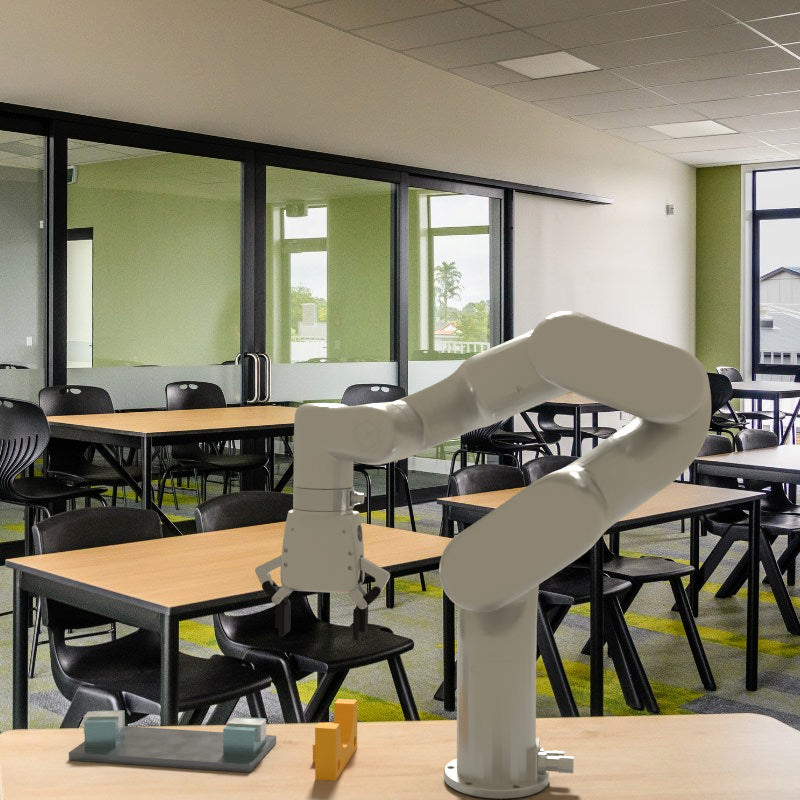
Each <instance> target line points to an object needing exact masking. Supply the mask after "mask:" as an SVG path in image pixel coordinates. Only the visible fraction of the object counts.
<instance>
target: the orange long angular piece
mask: <svg viewBox="0 0 800 800" xmlns="http://www.w3.org/2000/svg"><path fill="white" fill-rule="evenodd" d="M314 731H315V732H314V743H313V744H312V763H314V770H315V771H314V777H315V778H314V779H315V780H316V781H317V780H319V781H333V782H334V781H335V782H336V781H337V780H338V779H339V777H340V776H341V774H342V772H343V771H344V769H345V768H346V766H347V765H348V763H349V761H350V759H351V758H352V757H353V755H354V754H355V752H356V750H357V749H358V699H351V698H350V699H349V698H338V699H337V700H336V701H335V702H334V712H333V722H318V724H316V726H314Z"/></svg>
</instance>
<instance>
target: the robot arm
mask: <svg viewBox="0 0 800 800" xmlns="http://www.w3.org/2000/svg"><path fill="white" fill-rule="evenodd" d="M710 387H711V386H710V380H709V376H708V373H707V371H706V367H705V366H704V365H703V363H702V362H701V361H700V359H698V358H697V357H696V356H695V355H694V354H693V353H691V352H689V351H687V350H685V349H683V348H681V347H679V346H675V345H672V344H669V343H666V342H664V341H661V340H660V341H659V340H657V339H654V338H650V337H647V336H644V335H642V334H639V333H636V332H633V331H630V330H626V329H623V328H620V327H619V326H618V327H617V326H615V325H612V324H610V323H606V322H604V321H601V320H599V319H596V318H594V317H592V316H588V315H586V314H584V313H581V312H578V311H572V310H565V311H564V310H563V311H557V312H555V313H552V314H550V315H548V316H546V317H545V318H543V319H542V320H540V322H539V323H538V324H537V325H536V326H535V327H534V328H533V329H532V330H530V331H528V332H526V333H523V334H522V335H519V336H517V337H515V338H512V339H510V340H507V341H504V342H502V343H500V344H498V345H495V346H493V347H490V348H488V349H486V350H484V351H481V352H479V353H476V354H474V355H472V356H470V357H469V358H466V360H464V361H463V362H462V363H461V364H460V365H459V366H458V368H457V369H456V370H454V372H453V373H451V374H450V375H449V376H447V377H445V378H444V379H442V380H440V381H437V382H436V383H434V384H432V385H429V386H428V387H425V388H423V389H420V390H419V391H416V392H413V393H411V394H409V395H407V396H404V397H402V398H399V399H397V400H394V401H387V402H385V401H384V402H376V403H367V404H365V403H364V404H360V405H347V404H344V403H332V402H331V403H329V402H311V403H310V402H309V403H303V404H300V405H299V406H298V407H297V408H296V410H295V413H294V420H293V422H294V423H293V425H294V426H293V427H294V428H293V486H292V487H293V489H292V490H293V494H292V495H293V496H292V497H293V499H292V501H293V503H292V507H293V509H290V510H288V512H287V517H286V520H285V525H284V532H283V538H282V546H281V547H282V548H281V555H279V556H276V557H275V558H273V559H270V560H269V561H266V562H265V563H263V564H260V565H258V566H257V567H256V568H255V570H254V572H255V574H256V576H257V579H258V581H259V583H260V584H261V588H262V590H263V591H264V592H265V594H267V596H268V597H270V599H271V601H272V603H273V604H274V605H275V608H274V609H275V610H274V613H275V614H274V627H275V628H278V637H284V636H285V635H286V634H288V633H289V632H290V631H291V629H292V628H291V625H292V621H291V619H292V618H291V617H292V616H291V615H292V602H291V600H290V599H289V596H290V595H291V593H292V592H293V591H296V592H297V591H298V592H312V593H313V592H314V593H332V594H334V593H335V594H348V595H349V597H350V598H351V599H352V600H353V602H354V603H355V604H356V605H355V606H356V607H354V608H353V612H352V620H353V621H352V640H354V641H355V642H357V641H358V642H359V641H360V640H361V639H362V638H363V637H364V634H366V633H368V629H369V606H370V604H372V602H374V601H375V600H376V599H377V598H378V597H380V595H381V594H382V592H383V590H384V589H385V587H386V585H387V583H388V582H389V580H390V577H391V573H390V571H388V570H386V569H384V568H382V567H380V566H379V565H377V564H375V563H373V561H370V560H368V559H367V558H365V550H364V549H365V548H364V536H363V534H364V533H363V526H362V519H361V514H360V512H359V511H357V510H354V508H355V506H358V505H361V504H362V505H364V503H365V493H363V492H358V491H356V490H355V486H354V463H359V464H365V465H372V466H377V465H379V466H380V465H385V464H389V463H393V462H397V461H401V460H405V459H407V458H410V457H413V456H415V455H418V454H421V453H422V452H425V451H427V450H430V449H432V448H435V447H437V446H439V445H441V444H444V443H446V442H449V441H451V440H453V439H456V438H459V437H460V436H463V435H466V434H467V433H470V432H473V431H476V430H479V429H482V428H488V427H490V426H492V425H494V424H496V423H499V422H501V421H504V420H506V419H509V418H511V417H513V416H515V415H518V414H521V413H522V412H525V411H527V410H529V409H532V408H535V407H537V406H540V405H542V404H544V403H547V402H549V401H551V400H555V399H556V398H559V397H561V396H565V395H566V394H569V393H572V394H575V395H576V396H579V397H582V398H585V399H587V400H591V401H594V402H596V403H598V404H602V405H604V406H607V407H610V408H612V409H615V410H619V411H621V412H624V413H627V414H629V415H632V418H631V420H629V421H628V422H627V423H626V424H625V425H624V426H622V427H621V428H620V429H619V430H617V431H616V432H614V433H612V434H611V435H610V436H608V437H606V439H604V440H603V441H602V442H600V443H599V444H598V445H596V447H593V448H592V449H591V450H589V451H588V452H586V453H585V454H584V455H582V456H580V457H579V458H578V459H576V460H574V461H573V462H571V463H570V464H569V463H568V465H566V466H565V467H562V468H561V469H558V470H555V471H552V472H550V473H548V474H546V475H544V476H542V477H541V478H538V479H537V480H535V481H533V482H532V483H530V484H529V485H527V486H526V487H525V488H523V489H522V490H520V491H519V492H517V493H516V494H515V495H513V496H511V498H509V499H508V500H505V501H504V502H502V503H501V504H500V505H499V506H497V507H495V509H493V510H491V511H490V512H489V513H487V514H486V515H484V516H483V517H482V518H480V519H478V520H477V521H475V522H474V523H473V524H471V525H470V526H467V528H465V529H464V530H462V531H461V532H459V533H458V534H456V535H455V536H454V537H453V538H452V539H451V540H450V541H449V542H447V545H446V546H445V547H444V549H443V551H442V554H441V558H440V561H439V568H438V569H439V570H438V573H439V582H440V584H441V588H442V590H443V591H444V593H445V595H446V596H447V597H448V598H449V600H450V601H451V602H452V603H454V604H455V605H457V606H458V610H457V611H458V613H457V626H456V627H457V630H456V631H457V632H456V637H457V638H456V640H457V641H456V643H457V644H456V647H457V648H456V758H454V759H452V760H450V761H449V762H447V764H446V765H445V766H444V768H443V780H444V782H445V784H447V786H449V787H450V788H451V789H453V790H455V791H457V792H459V793H462V794H465V795H469V796H473V797H476V798H477V797H478V798H484V799H500V800H504V799H507V800H508V799H516V798H523V797H528V796H531V795H534V794H537V793H539V792H542V791H543V790H544V789H545V788H546V787H547V786H548V784H549V779H550V773H549V772H557V773H560V774H574V769H575V768H574V765H575V762H574V761H575V759H574V756H570V755H569V756H568V755H567V756H566V755H565V751H564V750H545V749H546V748H545V747H541V746H540V743H541V741H540V739H541V738H540V737H539V736H538V737H537V635H538V634H537V630H538V629H537V623H538V621H537V620H538V601H539V600H538V599H539V586H540V584H542V583H543V582H544V581H546V580H548V579H550V578H551V577H552V576H554V575H555V574H557V573H558V572H560V571H561V570H563V569H564V568H566V567H568V566H569V565H571V564H572V563H573V562H575V561H576V560H578V559H579V558H581V557H582V556H583V555H584V554H586V553H587V552H588V551H589V550H591V549H592V548H593V546H595V544H596V543H597V542H598V541H599V540H600V538H601V537H602V536H603V535H604V534H605V532H607V530H608V529H610V528H611V527H612V526H614V525H615V524H617V523H618V522H619V521H621V520H622V519H623V518H625V517H626V516H628V515H629V514H631V513H632V512H634V511H635V510H636V509H638V508H640V507H641V506H642V505H644V504H645V503H646V502H648V501H649V500H650V499H652V498H653V497H655V496H656V495H658V494H659V493H660V492H661V491H663V490H665V489H666V488H667V487H668V486H670V485H672V483H674V482H675V481H676V480H677V479H678V478H679V477H680V476H681V475H683V474H684V472H686V470H688V468H689V467H690V466H691V465H692V463H693V462H694V461H695V459H696V458H697V456H698V455H699V453H700V452H701V450H702V447H704V446H703V445H704V444H705V441H706V439H707V437H708V432H709V429H710V425H711V418H712V394H711V388H710ZM278 568H280V584H281V587H279V586H280V585H278V584H277V583H276V582H275V581H274V580H273V579H272V576H271V572H272V571H274V570H276V569H278ZM365 573H366V574H367V575H370V576H371V577H373V578H374V579H375V581H374V584H373V585H372V588H371V589H370V590H369V591H368V592H367V591H366V589H365V588H364V586H362V585H363V584H364V581H365V576H366V575H365Z"/></svg>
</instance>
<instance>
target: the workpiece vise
mask: <svg viewBox="0 0 800 800" xmlns="http://www.w3.org/2000/svg"><path fill="white" fill-rule="evenodd" d="M125 713H126V712H125V710H119V709H118V710H115V709H114V710H112V709H111V710H109V709H107V710H93V711H87V712H86V714H84V715H83V734H84V741H83V742H82V743H80V744H78V745H77V746H76V747H74V748H73V749H72V750H70V751H68V761H76V762H77V761H79V762H88V763H89V762H90V763H91V762H92V763H104V764H119V765H131V766H132V765H134V766H148V767H163V768H175V769H176V768H178V769H179V768H180V769H188V770H189V769H190V770H191V769H192V770H193V769H194V770H202V771H203V770H204V771H205V770H206V771H219V772H221V771H222V772H232V773H233V772H234V773H235V772H236V773H247V774H250V773H251V772H253V770H254V769H255V767H256V766H257V765H258V764H260V762H261V761H262V760H263V759H264V758H265V756H267V754H268V753H269V752H270V751H271V750H272V748H273V747H274V746H276V744H277V735H274V734H273V735H271V734H267V719H266V718H263V717H249V716H248V717H247V716H236V717H232V718H231V719H230V720H228V722H226V726H225V727H224V728H223V729H222V730H223V731H209V730H208V731H207V730H192V729H191V730H190V729H177V728H161V727H143V726H130V725H129V726H128V725H125V722H126V721H125V720H126V719H125V718H126V717H125Z"/></svg>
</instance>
